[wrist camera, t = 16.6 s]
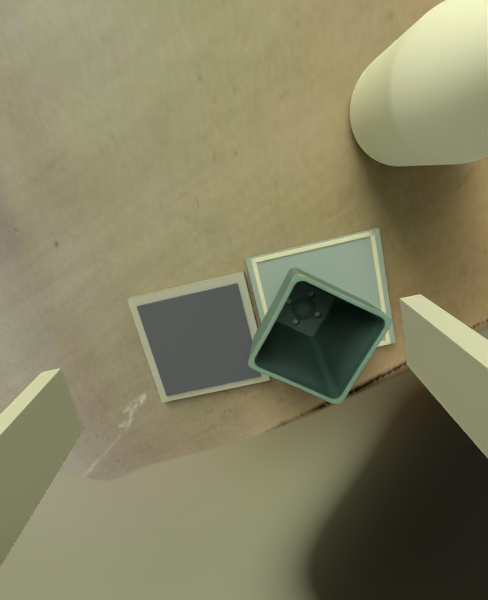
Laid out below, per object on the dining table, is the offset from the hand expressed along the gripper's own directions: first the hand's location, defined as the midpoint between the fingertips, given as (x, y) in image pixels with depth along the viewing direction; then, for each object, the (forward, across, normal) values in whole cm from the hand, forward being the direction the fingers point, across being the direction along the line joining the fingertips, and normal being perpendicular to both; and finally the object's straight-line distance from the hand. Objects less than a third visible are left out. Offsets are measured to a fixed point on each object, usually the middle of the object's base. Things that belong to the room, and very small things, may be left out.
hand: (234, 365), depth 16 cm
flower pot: (+25, +5, -7) cm, 26 cm away
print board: (+26, +7, -7) cm, 28 cm away
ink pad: (+26, -6, -9) cm, 28 cm away
